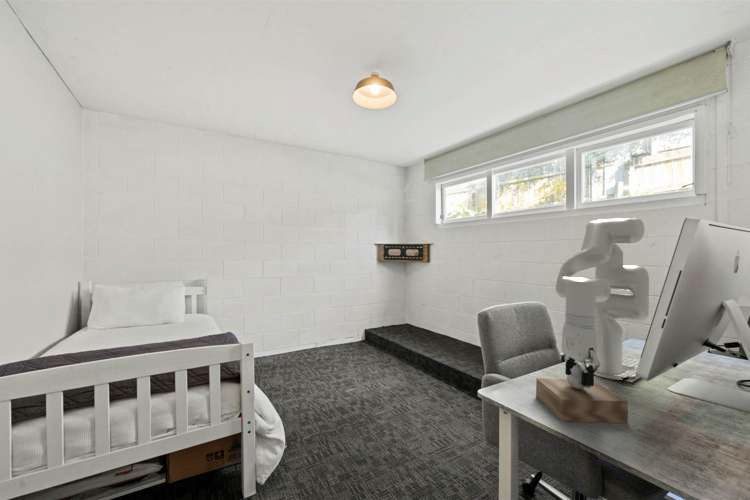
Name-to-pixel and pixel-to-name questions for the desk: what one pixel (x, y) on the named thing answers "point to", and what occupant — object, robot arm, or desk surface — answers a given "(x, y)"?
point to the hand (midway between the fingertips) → (578, 379)
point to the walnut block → (581, 402)
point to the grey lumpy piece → (576, 377)
